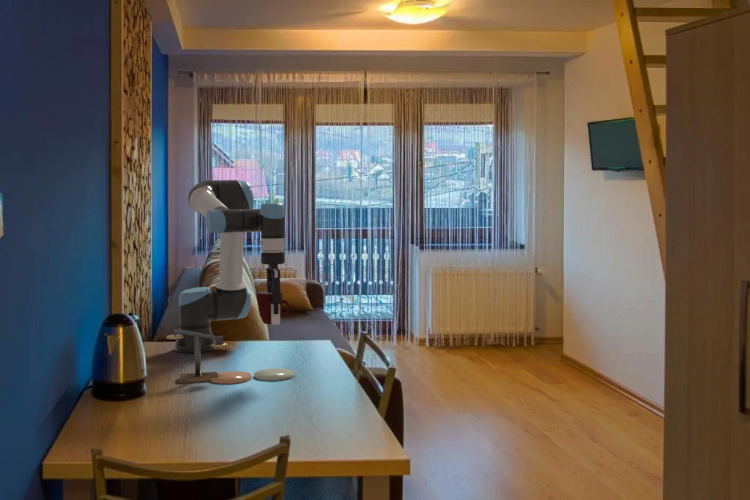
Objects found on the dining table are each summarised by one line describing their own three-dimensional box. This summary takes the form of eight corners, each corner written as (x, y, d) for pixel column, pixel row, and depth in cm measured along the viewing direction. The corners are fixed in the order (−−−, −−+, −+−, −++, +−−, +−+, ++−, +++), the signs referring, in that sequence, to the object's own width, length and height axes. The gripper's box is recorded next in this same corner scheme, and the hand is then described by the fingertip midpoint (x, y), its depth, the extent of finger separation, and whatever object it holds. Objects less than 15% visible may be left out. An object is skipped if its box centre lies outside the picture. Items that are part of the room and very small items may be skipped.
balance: (167, 379, 240) (166, 328, 238) (227, 375, 245) (226, 325, 243) (167, 384, 234) (166, 331, 233) (228, 379, 239) (227, 328, 238)
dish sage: (252, 372, 248) (252, 370, 248) (291, 370, 252) (291, 367, 252) (256, 382, 236) (256, 379, 236) (297, 379, 239) (297, 376, 239)
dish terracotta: (208, 375, 244) (208, 372, 244) (249, 373, 248) (249, 370, 248) (210, 385, 232) (210, 382, 232) (253, 382, 235) (253, 379, 235)
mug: (290, 320, 247) (289, 290, 246) (290, 324, 239) (290, 293, 238) (257, 321, 246) (257, 290, 245) (256, 325, 238) (256, 294, 237)
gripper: (257, 249, 250) (258, 317, 251) (265, 254, 230) (266, 328, 231) (279, 249, 252) (280, 316, 253) (289, 253, 232) (290, 326, 233)
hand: (273, 322), depth 242 cm, fingers closed on mug, 8 cm apart
